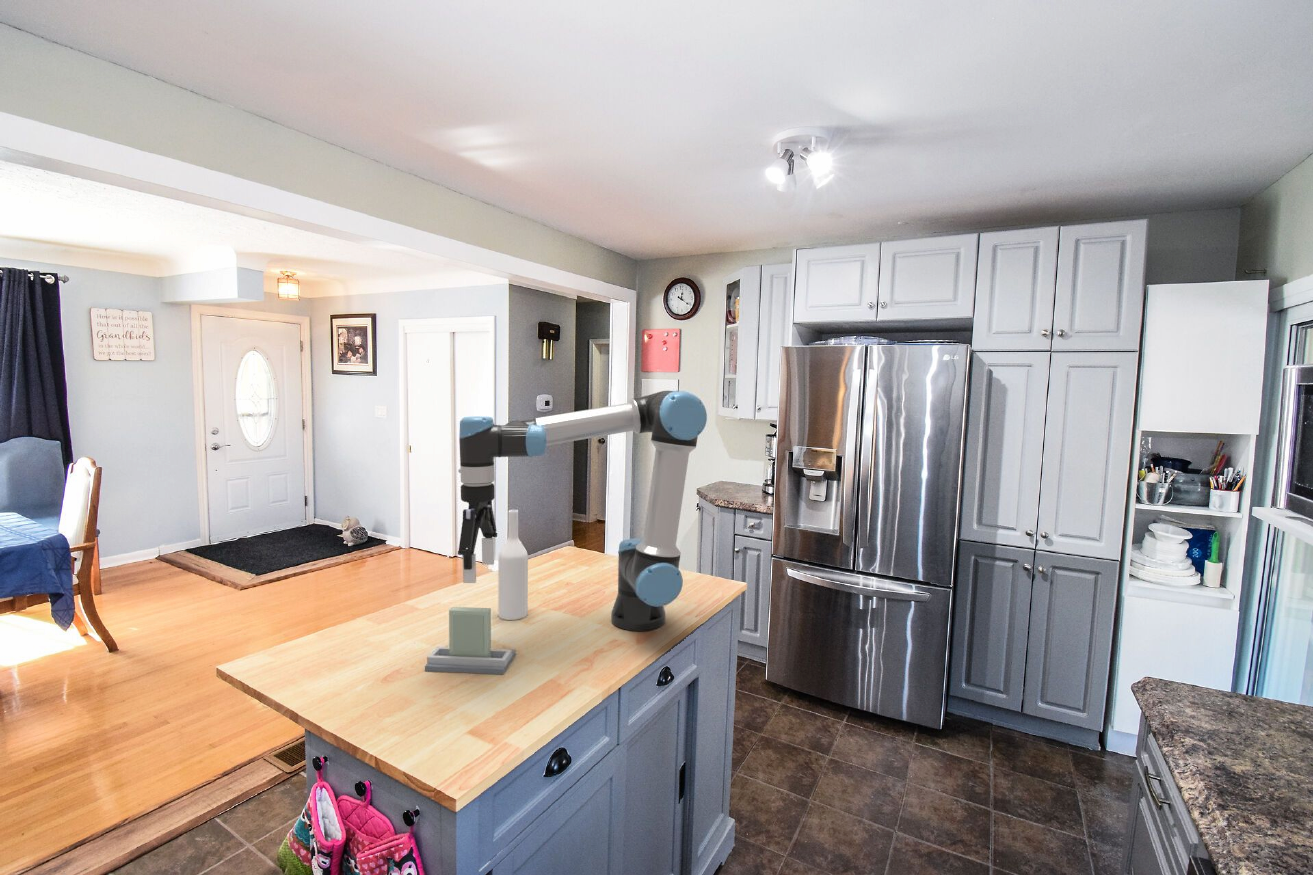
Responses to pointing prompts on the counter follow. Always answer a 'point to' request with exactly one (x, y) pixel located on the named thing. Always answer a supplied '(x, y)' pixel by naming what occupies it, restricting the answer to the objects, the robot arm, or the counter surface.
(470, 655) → the door panel
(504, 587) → the bottle
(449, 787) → the counter surface
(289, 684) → the counter surface
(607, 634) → the counter surface
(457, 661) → the base
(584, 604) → the counter surface
